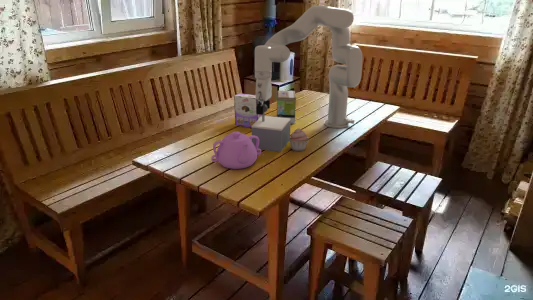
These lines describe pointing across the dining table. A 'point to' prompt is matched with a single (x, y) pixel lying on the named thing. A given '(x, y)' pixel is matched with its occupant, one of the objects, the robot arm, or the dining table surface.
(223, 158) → the purple round pot
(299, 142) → the cupcake
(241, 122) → the candy box
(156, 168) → the dining table surface
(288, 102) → the tea box
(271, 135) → the carton
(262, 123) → the lid flap
